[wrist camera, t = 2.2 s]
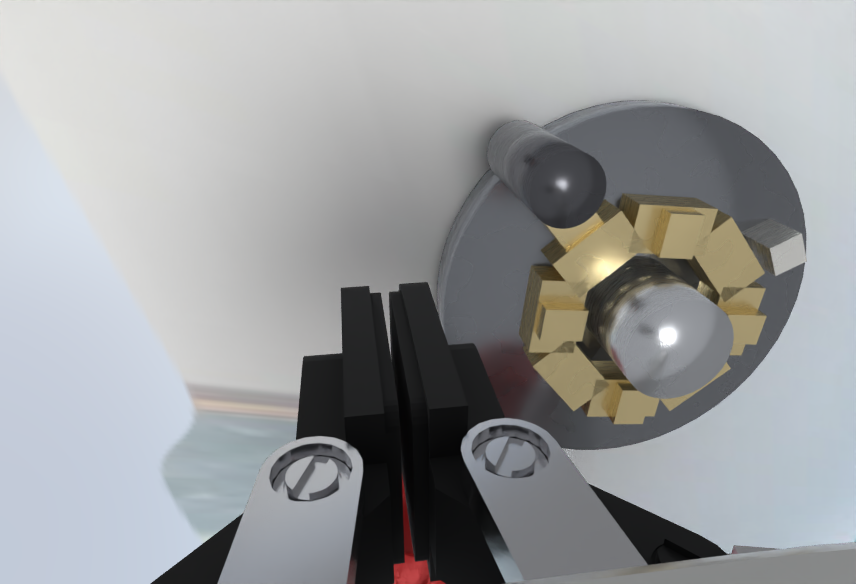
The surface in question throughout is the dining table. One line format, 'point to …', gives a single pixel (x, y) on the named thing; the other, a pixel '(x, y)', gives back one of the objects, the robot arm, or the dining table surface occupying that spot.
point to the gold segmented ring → (611, 264)
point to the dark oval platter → (628, 271)
